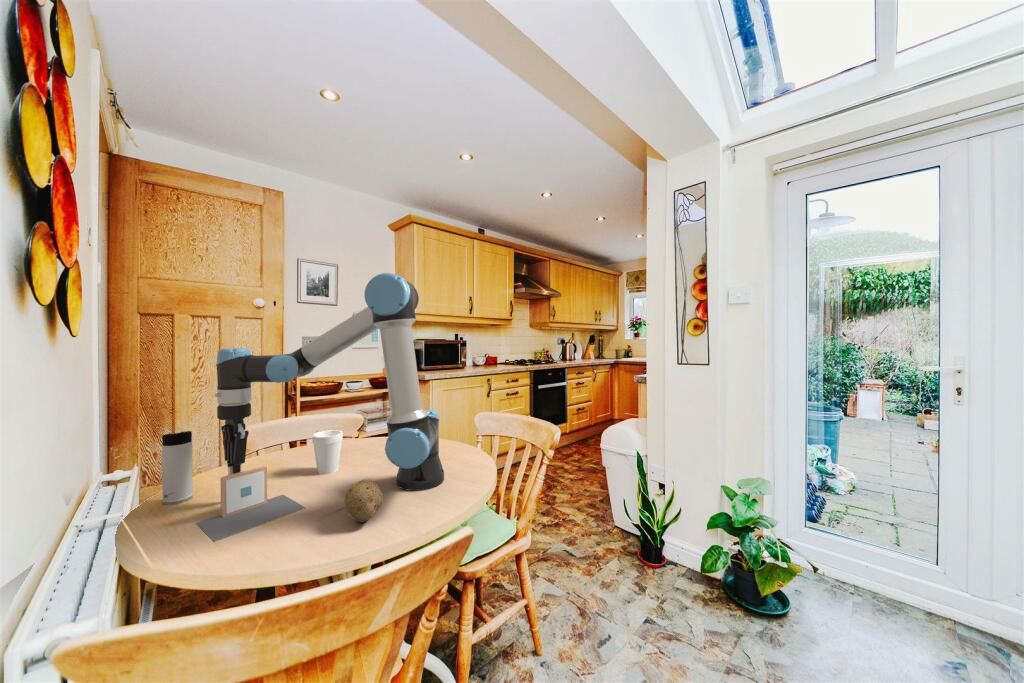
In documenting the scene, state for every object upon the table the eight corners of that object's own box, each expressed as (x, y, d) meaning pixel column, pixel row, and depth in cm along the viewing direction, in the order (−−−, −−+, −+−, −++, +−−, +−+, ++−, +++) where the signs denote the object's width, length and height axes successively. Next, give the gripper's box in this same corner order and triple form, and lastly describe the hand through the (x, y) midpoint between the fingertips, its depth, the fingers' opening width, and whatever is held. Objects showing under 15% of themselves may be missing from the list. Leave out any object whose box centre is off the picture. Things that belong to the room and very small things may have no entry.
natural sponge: (365, 508, 99) (365, 472, 99) (390, 515, 95) (390, 477, 95) (337, 524, 91) (336, 484, 90) (363, 532, 87) (362, 491, 87)
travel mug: (163, 509, 98) (162, 435, 98) (161, 501, 102) (160, 431, 102) (194, 501, 103) (193, 431, 102) (191, 494, 107) (190, 427, 107)
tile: (267, 503, 101) (267, 467, 101) (223, 517, 93) (223, 478, 93) (264, 501, 102) (264, 466, 102) (220, 515, 94) (220, 477, 94)
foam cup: (314, 468, 129) (313, 431, 128) (342, 464, 133) (342, 429, 132) (311, 477, 120) (311, 438, 120) (342, 473, 124) (342, 435, 124)
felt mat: (306, 509, 98) (306, 507, 98) (213, 543, 82) (213, 541, 82) (283, 495, 106) (283, 494, 106) (195, 524, 90) (195, 522, 90)
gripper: (209, 402, 102) (210, 486, 102) (226, 408, 94) (226, 498, 95) (241, 399, 108) (242, 477, 108) (259, 404, 100) (259, 488, 101)
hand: (234, 487), depth 101 cm, fingers closed
